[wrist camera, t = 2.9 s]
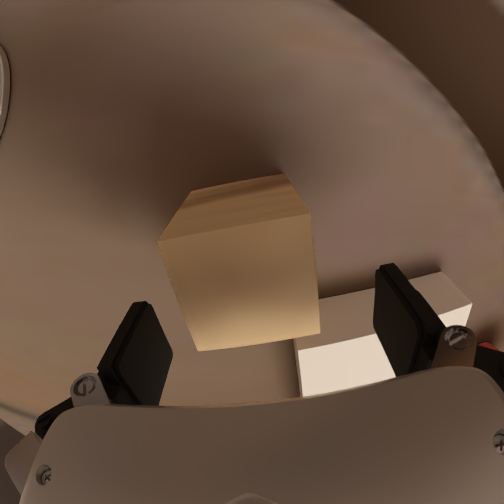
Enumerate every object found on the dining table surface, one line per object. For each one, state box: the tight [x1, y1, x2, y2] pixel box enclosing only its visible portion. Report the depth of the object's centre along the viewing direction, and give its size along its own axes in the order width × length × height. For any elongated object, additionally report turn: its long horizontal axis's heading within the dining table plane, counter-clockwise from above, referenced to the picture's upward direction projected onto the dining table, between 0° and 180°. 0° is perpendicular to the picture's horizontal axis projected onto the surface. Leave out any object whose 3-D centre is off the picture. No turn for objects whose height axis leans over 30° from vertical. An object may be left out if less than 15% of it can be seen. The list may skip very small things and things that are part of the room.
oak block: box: [157, 174, 320, 351], centre depth 16 cm, size 6×6×8 cm
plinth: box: [293, 271, 472, 397], centre depth 22 cm, size 14×14×5 cm
